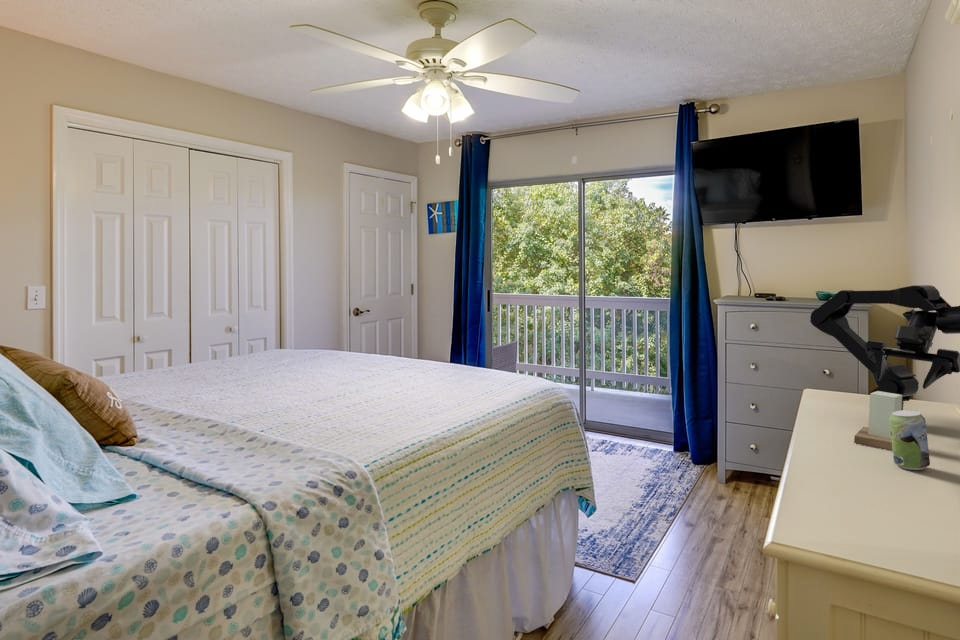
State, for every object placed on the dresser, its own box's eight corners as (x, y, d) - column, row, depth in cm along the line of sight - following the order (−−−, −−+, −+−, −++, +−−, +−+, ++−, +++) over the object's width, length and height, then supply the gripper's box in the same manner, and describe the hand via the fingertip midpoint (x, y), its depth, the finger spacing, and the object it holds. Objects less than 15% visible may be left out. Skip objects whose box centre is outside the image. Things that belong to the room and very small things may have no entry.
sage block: (875, 431, 135) (877, 390, 134) (899, 436, 130) (902, 394, 129) (868, 434, 132) (870, 393, 131) (892, 439, 128) (895, 397, 127)
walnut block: (862, 436, 139) (863, 426, 138) (912, 445, 132) (913, 435, 131) (853, 445, 132) (854, 435, 131) (906, 456, 125) (907, 445, 124)
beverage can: (936, 474, 113) (941, 416, 111) (895, 471, 114) (900, 414, 113) (918, 463, 119) (923, 408, 117) (879, 460, 120) (884, 406, 119)
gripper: (870, 309, 142) (849, 358, 137) (964, 317, 127) (944, 372, 122) (879, 334, 148) (859, 382, 143) (969, 345, 133) (951, 399, 128)
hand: (900, 383), depth 134 cm, fingers open, 9 cm apart
